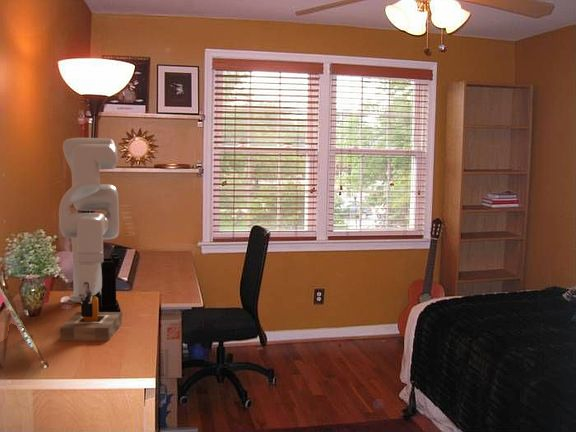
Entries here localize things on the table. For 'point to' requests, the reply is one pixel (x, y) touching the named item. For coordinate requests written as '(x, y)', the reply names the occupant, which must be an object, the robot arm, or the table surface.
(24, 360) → the table surface
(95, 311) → the carrot
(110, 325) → the seat block
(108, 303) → the chess piece
